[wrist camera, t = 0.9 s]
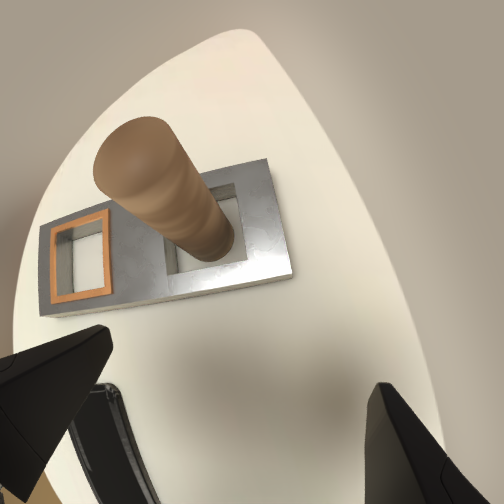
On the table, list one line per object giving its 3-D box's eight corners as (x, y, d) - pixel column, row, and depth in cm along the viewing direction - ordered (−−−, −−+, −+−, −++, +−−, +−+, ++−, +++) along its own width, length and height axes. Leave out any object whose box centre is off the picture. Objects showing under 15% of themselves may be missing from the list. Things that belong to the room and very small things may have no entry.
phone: (113, 383, 21) (164, 521, 17) (120, 381, 22) (168, 515, 18) (55, 386, 22) (101, 511, 18) (62, 385, 23) (106, 507, 19)
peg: (207, 272, 23) (118, 216, 11) (177, 238, 24) (81, 163, 12) (244, 236, 23) (192, 144, 11) (211, 204, 24) (143, 104, 12)
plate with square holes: (269, 173, 24) (266, 156, 22) (292, 278, 22) (292, 272, 19) (55, 233, 26) (38, 225, 24) (56, 317, 24) (37, 316, 21)
